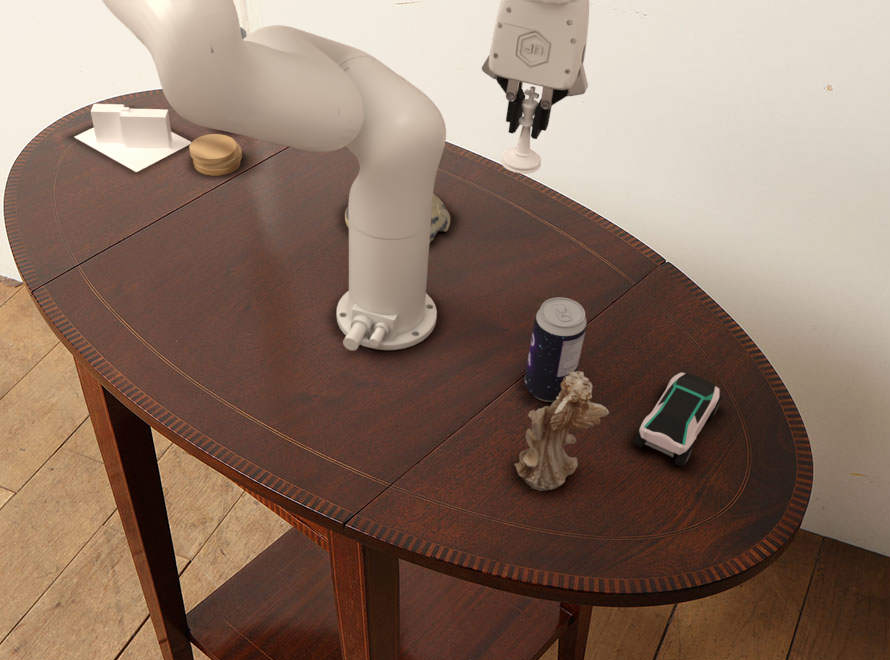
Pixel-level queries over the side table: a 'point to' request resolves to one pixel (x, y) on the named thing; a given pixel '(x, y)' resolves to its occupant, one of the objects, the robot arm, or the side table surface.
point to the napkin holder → (132, 135)
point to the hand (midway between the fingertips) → (525, 129)
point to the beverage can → (554, 346)
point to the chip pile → (215, 154)
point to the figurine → (558, 433)
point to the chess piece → (524, 141)
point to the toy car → (679, 416)
